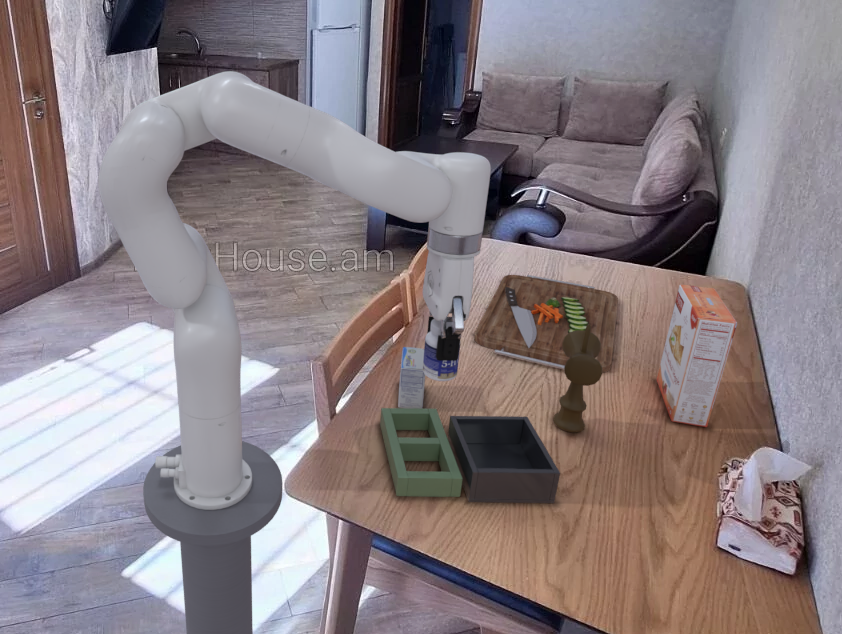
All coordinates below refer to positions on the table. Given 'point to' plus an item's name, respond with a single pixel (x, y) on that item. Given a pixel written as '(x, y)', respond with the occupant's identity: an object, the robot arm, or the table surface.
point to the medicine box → (411, 378)
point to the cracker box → (695, 354)
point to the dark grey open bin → (502, 460)
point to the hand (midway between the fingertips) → (441, 348)
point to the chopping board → (546, 319)
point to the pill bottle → (430, 363)
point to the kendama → (578, 377)
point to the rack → (419, 453)
